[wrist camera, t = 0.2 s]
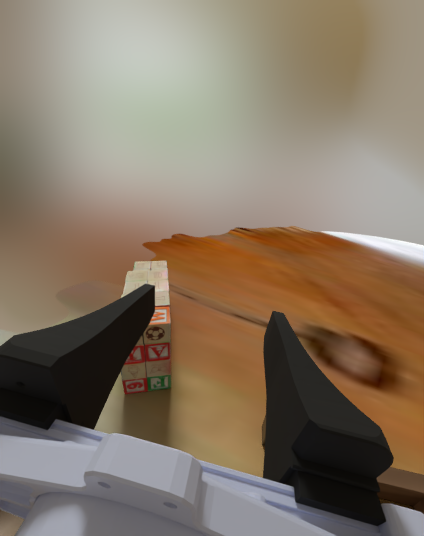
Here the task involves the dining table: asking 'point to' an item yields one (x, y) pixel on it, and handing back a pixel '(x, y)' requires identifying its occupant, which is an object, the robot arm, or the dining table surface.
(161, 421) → the dining table surface
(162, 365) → the stack of blocks
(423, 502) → the walnut bore block
